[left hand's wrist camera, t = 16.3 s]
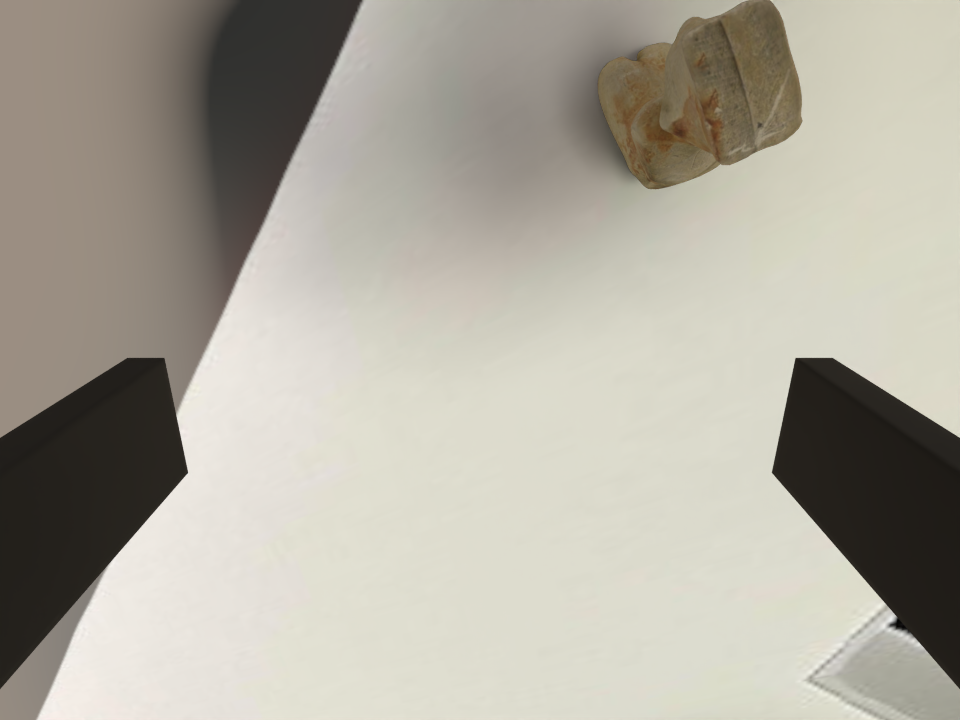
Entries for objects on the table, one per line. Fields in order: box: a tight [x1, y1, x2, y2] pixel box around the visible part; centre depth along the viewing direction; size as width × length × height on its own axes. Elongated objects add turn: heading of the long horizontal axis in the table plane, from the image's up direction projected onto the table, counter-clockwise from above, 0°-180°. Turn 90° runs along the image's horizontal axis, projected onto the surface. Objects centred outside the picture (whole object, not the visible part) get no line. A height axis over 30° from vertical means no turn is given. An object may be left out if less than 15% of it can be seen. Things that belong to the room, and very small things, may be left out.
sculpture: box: [598, 0, 802, 189], centre depth 27 cm, size 6×7×15 cm
